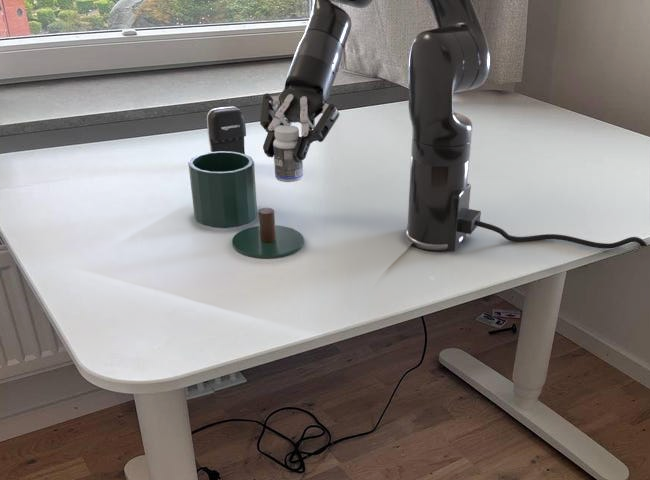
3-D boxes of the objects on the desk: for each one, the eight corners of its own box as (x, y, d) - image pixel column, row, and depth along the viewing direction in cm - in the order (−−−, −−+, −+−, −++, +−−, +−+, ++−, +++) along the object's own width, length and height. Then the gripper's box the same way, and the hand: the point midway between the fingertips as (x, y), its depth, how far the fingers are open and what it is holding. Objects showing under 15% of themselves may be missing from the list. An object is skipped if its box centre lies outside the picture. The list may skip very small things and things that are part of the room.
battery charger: (217, 173, 151) (211, 114, 144) (210, 166, 153) (204, 108, 147) (250, 167, 154) (246, 109, 148) (243, 161, 157) (239, 104, 150)
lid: (316, 239, 128) (315, 204, 124) (281, 267, 119) (279, 231, 116) (257, 226, 131) (254, 191, 128) (218, 252, 123) (214, 216, 119)
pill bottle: (271, 174, 133) (268, 125, 128) (298, 171, 134) (295, 122, 130) (280, 184, 129) (276, 134, 124) (307, 180, 131) (304, 131, 126)
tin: (268, 213, 136) (265, 157, 130) (235, 235, 128) (230, 177, 122) (218, 202, 139) (212, 147, 134) (182, 223, 131) (175, 166, 126)
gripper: (269, 47, 129) (234, 139, 127) (345, 58, 125) (312, 153, 122) (286, 73, 136) (254, 161, 134) (360, 84, 132) (328, 175, 129)
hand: (282, 157), depth 128 cm, fingers closed on pill bottle, 4 cm apart
